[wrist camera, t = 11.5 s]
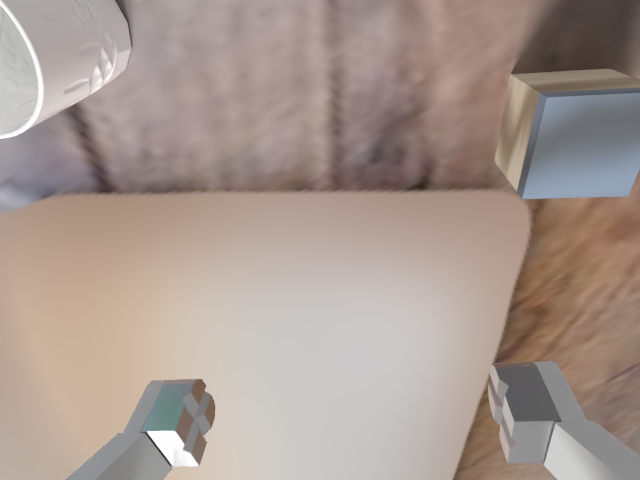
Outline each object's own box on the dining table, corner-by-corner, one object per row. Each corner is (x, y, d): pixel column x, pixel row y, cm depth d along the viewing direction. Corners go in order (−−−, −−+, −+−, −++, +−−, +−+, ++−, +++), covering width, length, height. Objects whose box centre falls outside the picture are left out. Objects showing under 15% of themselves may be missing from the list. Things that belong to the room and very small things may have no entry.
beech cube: (671, 91, 20) (608, 68, 25) (546, 97, 20) (510, 74, 25) (628, 196, 23) (580, 157, 28) (522, 198, 24) (494, 160, 29)
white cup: (163, 68, 27) (77, 109, 19) (75, 106, 29) (-38, 158, 21) (90, -67, 23) (-60, -92, 15) (-7, -13, 25) (-186, -7, 17)
